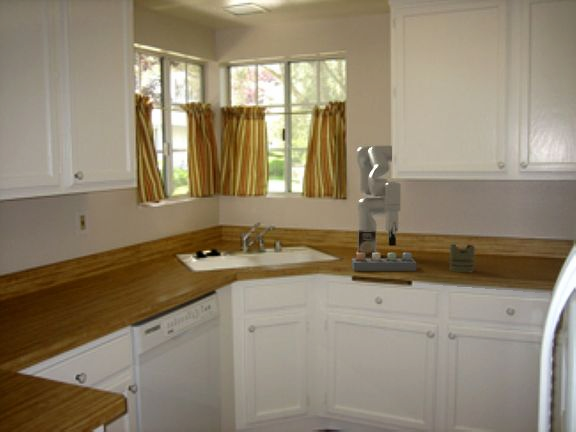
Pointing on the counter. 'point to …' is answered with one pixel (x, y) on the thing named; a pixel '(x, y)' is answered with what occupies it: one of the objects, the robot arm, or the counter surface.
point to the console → (384, 265)
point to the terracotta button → (360, 256)
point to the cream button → (376, 256)
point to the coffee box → (366, 242)
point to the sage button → (391, 256)
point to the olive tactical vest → (462, 258)
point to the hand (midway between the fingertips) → (392, 245)
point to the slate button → (406, 256)
